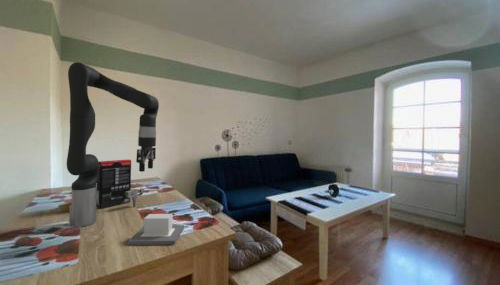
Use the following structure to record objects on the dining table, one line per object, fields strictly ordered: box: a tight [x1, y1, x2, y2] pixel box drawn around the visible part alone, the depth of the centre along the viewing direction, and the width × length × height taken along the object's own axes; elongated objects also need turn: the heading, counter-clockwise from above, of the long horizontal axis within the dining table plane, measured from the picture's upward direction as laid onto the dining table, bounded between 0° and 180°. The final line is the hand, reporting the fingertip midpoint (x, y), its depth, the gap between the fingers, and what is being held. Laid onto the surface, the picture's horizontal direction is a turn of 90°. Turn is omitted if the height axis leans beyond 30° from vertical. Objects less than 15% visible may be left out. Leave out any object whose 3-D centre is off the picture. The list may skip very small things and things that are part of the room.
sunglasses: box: [57, 202, 72, 213], centre depth 119 cm, size 14×15×5 cm
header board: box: [127, 224, 185, 246], centre depth 87 cm, size 18×14×2 cm
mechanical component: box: [125, 188, 145, 208], centre depth 121 cm, size 3×10×10 cm, turn 148°
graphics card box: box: [96, 159, 132, 209], centre depth 124 cm, size 17×7×27 cm, turn 144°
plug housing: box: [143, 213, 173, 235], centre depth 87 cm, size 10×5×7 cm, turn 93°
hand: (146, 169), depth 98 cm, fingers open, 8 cm apart
